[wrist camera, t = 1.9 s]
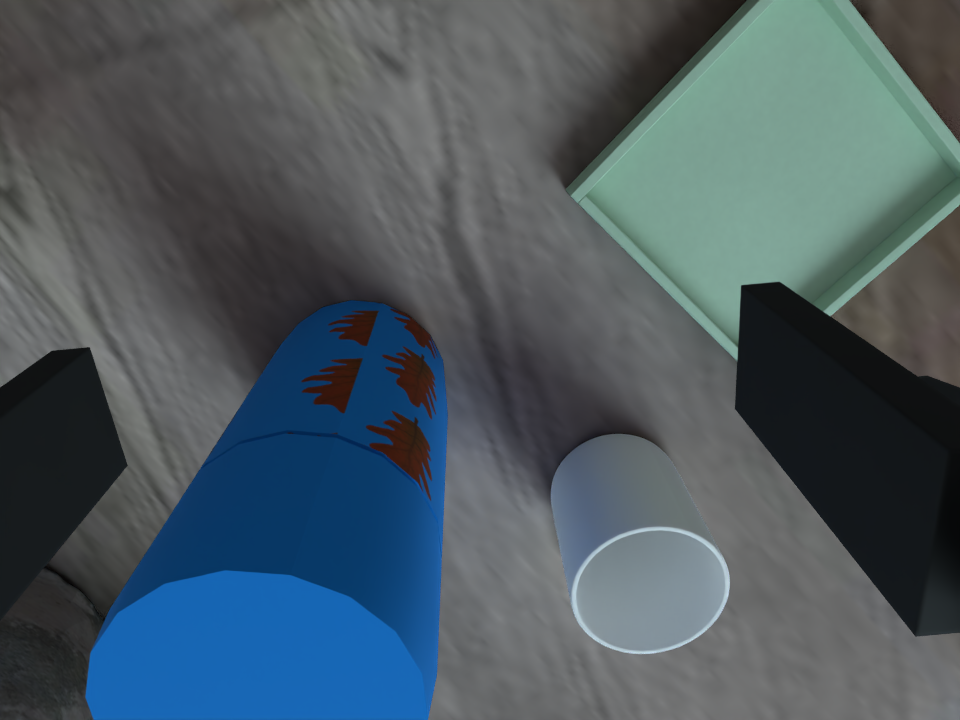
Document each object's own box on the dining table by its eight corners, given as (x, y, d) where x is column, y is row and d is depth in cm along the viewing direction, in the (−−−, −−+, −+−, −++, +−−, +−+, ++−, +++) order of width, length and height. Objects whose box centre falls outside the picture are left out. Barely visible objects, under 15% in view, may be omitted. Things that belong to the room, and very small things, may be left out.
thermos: (346, 482, 48) (239, 868, 25) (239, 359, 45) (1, 677, 22) (482, 398, 46) (501, 736, 23) (380, 263, 43) (284, 500, 20)
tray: (564, 189, 41) (569, 195, 39) (791, -47, 37) (809, -52, 35) (743, 366, 46) (756, 380, 44) (964, 174, 41) (988, 180, 40)
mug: (617, 589, 52) (653, 713, 42) (523, 473, 48) (539, 579, 38) (722, 530, 50) (786, 644, 41) (634, 405, 47) (680, 497, 37)
